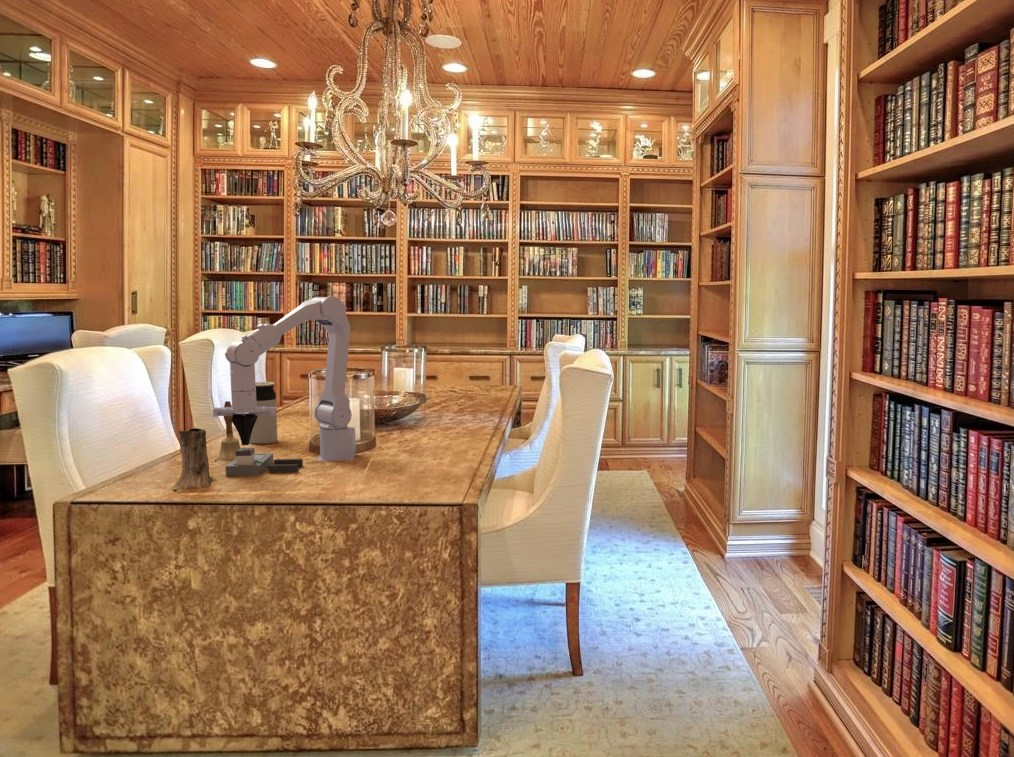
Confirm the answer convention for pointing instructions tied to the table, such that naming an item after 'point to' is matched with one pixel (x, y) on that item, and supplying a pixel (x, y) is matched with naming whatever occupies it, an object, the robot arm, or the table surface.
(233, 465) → the port panel
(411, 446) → the table surface
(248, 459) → the plug
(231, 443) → the hand bell
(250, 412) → the robot arm
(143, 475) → the table surface
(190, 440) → the tree stump
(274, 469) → the dark grey bracket
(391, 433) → the table surface
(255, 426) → the travel mug
